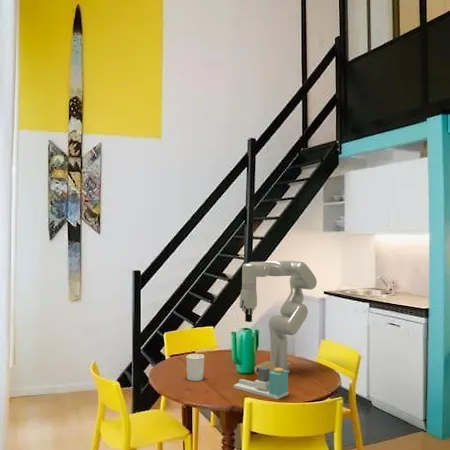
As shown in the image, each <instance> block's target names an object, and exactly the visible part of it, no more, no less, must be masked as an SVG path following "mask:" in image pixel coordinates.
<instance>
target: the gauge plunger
mask: <svg viewBox="0 0 450 450" xmlns="http://www.w3.org/2000/svg"><path fill="white" fill-rule="evenodd" d="M274 371H275V372H277V373H282V372H284V369H283V368H274Z"/></svg>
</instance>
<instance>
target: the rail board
mask: <svg viewBox="0 0 450 450" xmlns="http://www.w3.org/2000/svg"><path fill="white" fill-rule="evenodd" d="M235 388H236V390H239V391H243V392H248V393H251V394H255V395H259V396H263V397H266V398H270V399H274V400H280V399H281V398H283V397H286V396H288V395H289V374H288V371H287V370H284V372H282V373H277V372H275V371H273V372H270V373H269V386H267V390H264V389H260V388H256V385H255V381H252V380H248V379H244V378H241V379H238V383H235V384H233V389H235Z"/></svg>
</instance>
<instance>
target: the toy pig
mask: <svg viewBox="0 0 450 450" xmlns="http://www.w3.org/2000/svg"><path fill="white" fill-rule="evenodd" d="M261 367H266V368H270V370H269V373H270V372H273V371H274V368H276V366H275V364H274V363H273V362H271V361H270V360H267V361H263V362H261V363H260V364H256V365H254V368H253V369H254V373H255V375H257V376H258V368H261Z"/></svg>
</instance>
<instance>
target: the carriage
mask: <svg viewBox="0 0 450 450" xmlns="http://www.w3.org/2000/svg"><path fill="white" fill-rule="evenodd" d="M269 370H270V368H266V367H261V368H258V375H257V379H256V380H254V382H255V385H256V388H260V389H264V390H267V386H269Z"/></svg>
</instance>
